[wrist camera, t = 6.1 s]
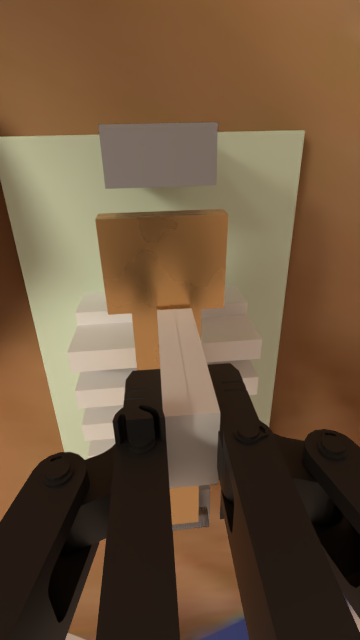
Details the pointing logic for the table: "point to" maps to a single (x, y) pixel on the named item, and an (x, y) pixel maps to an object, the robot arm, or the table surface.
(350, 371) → the table surface
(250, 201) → the heatsink board
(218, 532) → the table surface
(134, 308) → the strap
